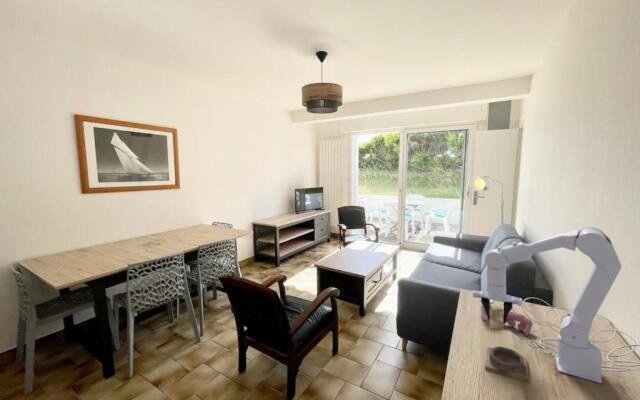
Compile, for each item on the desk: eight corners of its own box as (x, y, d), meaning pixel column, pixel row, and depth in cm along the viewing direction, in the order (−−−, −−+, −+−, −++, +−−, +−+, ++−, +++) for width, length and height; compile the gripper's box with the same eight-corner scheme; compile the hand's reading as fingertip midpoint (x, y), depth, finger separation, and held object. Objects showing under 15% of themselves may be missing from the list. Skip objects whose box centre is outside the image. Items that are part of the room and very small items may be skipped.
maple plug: (503, 325, 97) (503, 306, 96) (503, 330, 94) (503, 311, 93) (490, 322, 99) (490, 304, 99) (489, 327, 96) (489, 308, 96)
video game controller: (531, 337, 102) (535, 318, 103) (527, 336, 99) (531, 317, 100) (502, 326, 110) (505, 309, 111) (498, 325, 107) (501, 307, 108)
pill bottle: (481, 320, 112) (480, 300, 112) (480, 314, 117) (480, 296, 116) (494, 322, 110) (494, 302, 109) (493, 316, 114) (493, 297, 114)
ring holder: (527, 360, 88) (527, 351, 88) (528, 382, 79) (528, 373, 79) (487, 349, 94) (487, 341, 94) (485, 369, 85) (484, 360, 85)
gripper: (521, 282, 94) (521, 319, 95) (474, 276, 103) (474, 310, 104) (522, 290, 89) (522, 329, 90) (471, 282, 97) (472, 318, 98)
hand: (496, 319), depth 96 cm, fingers closed on maple plug, 4 cm apart
